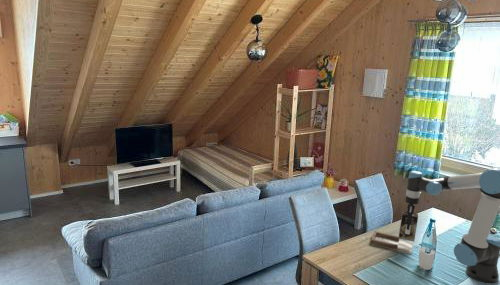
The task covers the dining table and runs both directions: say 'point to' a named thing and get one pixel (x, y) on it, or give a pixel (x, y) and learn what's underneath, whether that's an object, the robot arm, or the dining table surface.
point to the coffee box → (403, 227)
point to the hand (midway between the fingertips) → (407, 231)
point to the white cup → (426, 259)
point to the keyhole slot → (391, 242)
